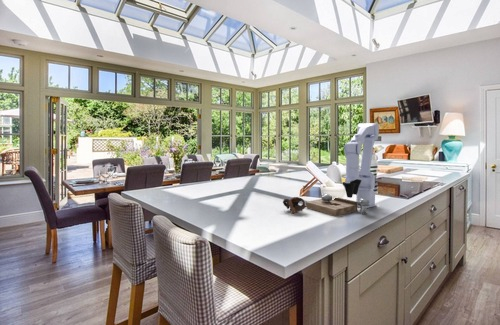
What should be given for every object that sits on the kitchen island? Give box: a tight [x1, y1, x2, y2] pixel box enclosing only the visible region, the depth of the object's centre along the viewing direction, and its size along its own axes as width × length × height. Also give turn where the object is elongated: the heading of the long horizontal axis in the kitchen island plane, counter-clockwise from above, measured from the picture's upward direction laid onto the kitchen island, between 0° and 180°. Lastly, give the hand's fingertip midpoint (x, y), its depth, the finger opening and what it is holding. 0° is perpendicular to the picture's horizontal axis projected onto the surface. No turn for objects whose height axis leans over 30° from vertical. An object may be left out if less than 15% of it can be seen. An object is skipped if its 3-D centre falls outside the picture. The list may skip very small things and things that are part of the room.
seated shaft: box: [320, 193, 332, 203], centre depth 152 cm, size 5×5×7 cm
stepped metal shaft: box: [358, 199, 370, 215], centre depth 140 cm, size 5×5×7 cm
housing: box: [305, 197, 359, 217], centre depth 150 cm, size 16×20×4 cm
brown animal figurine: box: [282, 196, 306, 214], centre depth 147 cm, size 12×10×8 cm
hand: (352, 195), depth 140 cm, fingers open, 7 cm apart
